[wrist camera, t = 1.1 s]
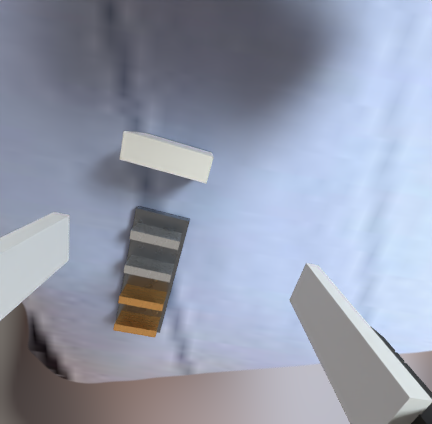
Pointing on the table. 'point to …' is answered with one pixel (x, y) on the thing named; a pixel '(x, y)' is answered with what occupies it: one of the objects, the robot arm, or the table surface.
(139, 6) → the table surface
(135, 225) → the rack
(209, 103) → the table surface
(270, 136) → the table surface
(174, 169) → the panel
